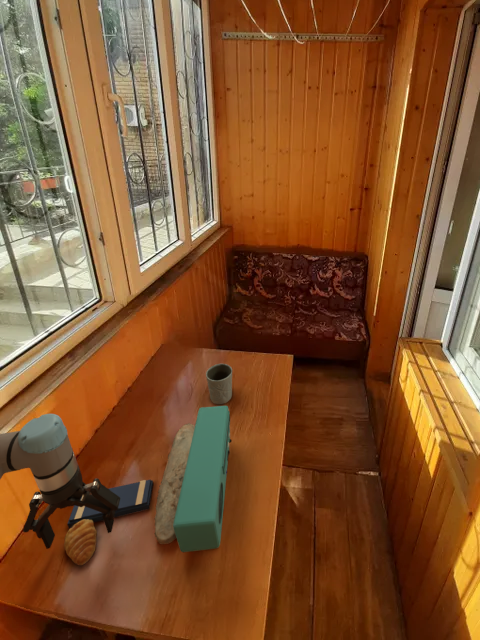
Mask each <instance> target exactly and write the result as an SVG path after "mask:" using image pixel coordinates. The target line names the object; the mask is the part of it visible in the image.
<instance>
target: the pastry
mask: <svg viewBox="0 0 480 640" xmlns="http://www.w3.org/2000/svg"><path fill="white" fill-rule="evenodd" d="M97 533H98V531H97V529H96V527H95V522H94V523H93V520H89V519H87V520H86V519H83V520H81V521H79V522H78V523H76V524H74V525H73V527H72V528H69V529H68V531H67V532H66V534H65V536H64V544H63V548H64V550H65V554H66V555H67V556H68V557H69V558H70V559H71V561H72V562H73V563H74V564H75V565H78V566H83V565H84V564H86V563H88V561H90V559H91V558H92V557H93V555H94V553H95V551H96V546H97V545H96V544H97V535H98V534H97Z"/></svg>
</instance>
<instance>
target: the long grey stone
mask: <svg viewBox="0 0 480 640" xmlns="http://www.w3.org/2000/svg"><path fill="white" fill-rule="evenodd" d="M194 429H195V425H194V424H193V423H190V422H188V423H185V424H183V425H182V426H181V427H180V428H179V430H178V431H177V432H176V434H175V436H174V438H173V442H172V445H171V449H170V452H169V453H168V455H167V462H166V465H165V469H164V471H163V476H162V480H161V481H160V484H159V488H158V491H157V497H156V505H155V514H154V515H155V516H154V537H155V538H156V541H157V542H158V543H159V544H160V545H167V544H171V543H173V542H174V541H175V540H177V538H176V534H175V531H174V528H173V523H174V519H175V514H176V510H177V505H178V501H179V496H180V492H181V487H182V483H183V478H184V474H185V469H186V465H187V460H188V456H189V451H190V447H191V442H192V438H193V433H194Z"/></svg>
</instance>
